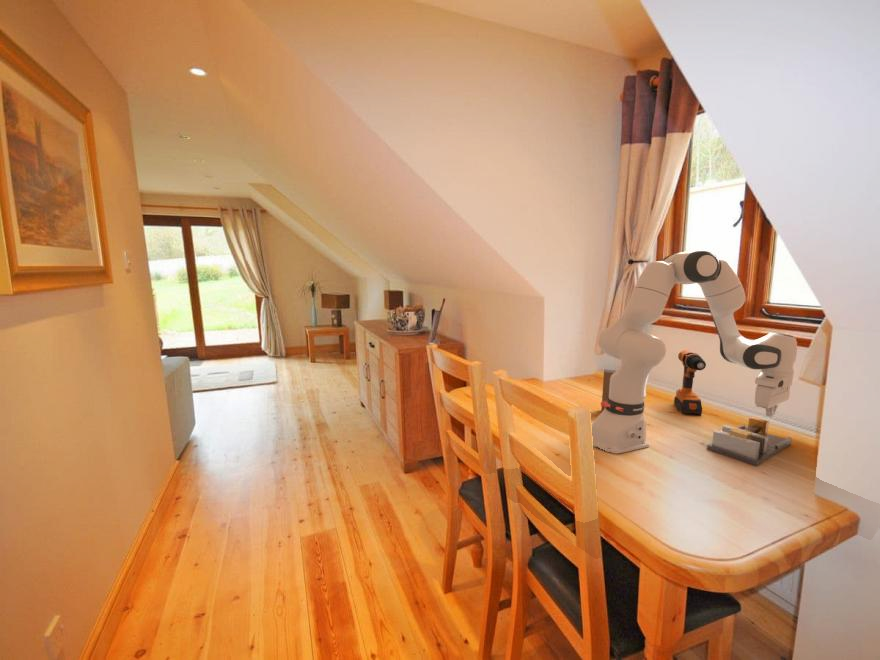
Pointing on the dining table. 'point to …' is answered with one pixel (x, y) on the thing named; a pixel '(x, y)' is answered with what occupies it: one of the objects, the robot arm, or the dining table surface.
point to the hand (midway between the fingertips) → (770, 415)
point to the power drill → (689, 383)
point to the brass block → (741, 433)
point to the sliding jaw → (755, 432)
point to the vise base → (761, 456)
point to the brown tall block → (606, 385)
